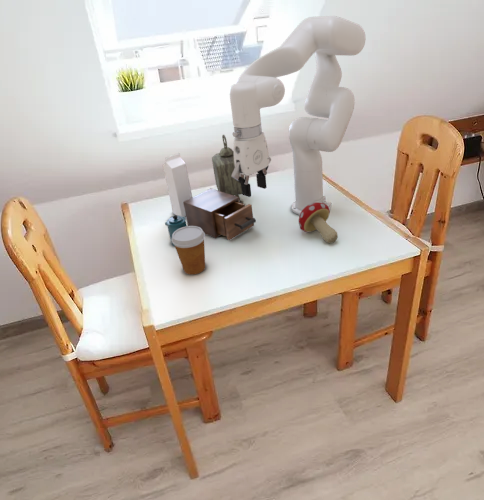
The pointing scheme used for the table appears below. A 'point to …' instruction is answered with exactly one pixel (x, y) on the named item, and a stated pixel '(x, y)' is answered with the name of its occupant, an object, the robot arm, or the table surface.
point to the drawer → (234, 219)
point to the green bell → (226, 171)
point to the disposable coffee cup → (190, 248)
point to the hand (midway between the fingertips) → (254, 191)
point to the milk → (177, 183)
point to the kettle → (175, 224)
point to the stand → (207, 209)
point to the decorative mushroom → (317, 221)
